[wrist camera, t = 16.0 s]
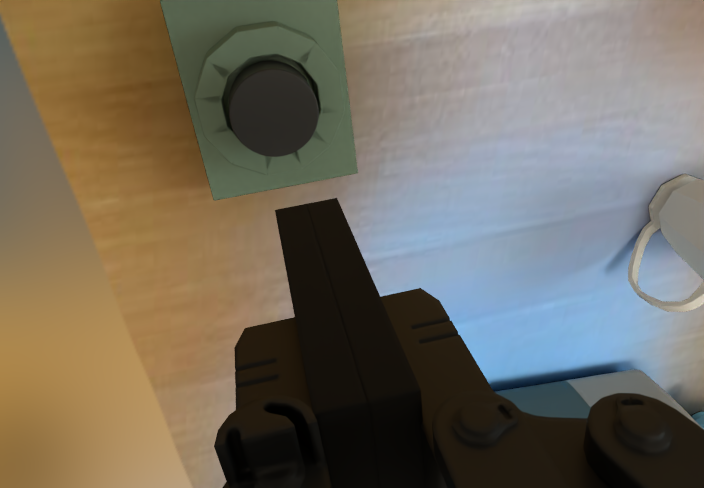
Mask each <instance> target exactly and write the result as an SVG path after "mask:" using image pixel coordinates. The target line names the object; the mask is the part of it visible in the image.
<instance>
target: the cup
mask: <svg viewBox="0 0 704 488" xmlns="http://www.w3.org/2000/svg"><path fill="white" fill-rule="evenodd" d="M648 207H649V213H650V219H651V221H650V222H649V223H648V224H647V225H646V226H645V227H644V228H643V229H642V231H641V233H640V235H639V237H638V239H637V241H636V243H635V246H634V249H633V253H632V256H631V260H630V263H629V267H628V281H629V282H630V284H631V286H632V288H633V290H634V291H635V292H636V293H637V294H638V295H639V296H640V297H641V298H642V299H644V300H645V301H647V302H648V303H649V304H651V305H653V306H655V307H658V308H660V309H663V310H665V311H667V312H687V311H690V310H692V309H695V308H697V307H699V306H700V305H702V304H703V303H704V281H703V282H702V284H701V285H700V286H699V288H698V289H697V290H696V291H695V292H694V293H693V294H692V295H691V297H690V298H688V299H686V300H683V301H681V302H662V301H660V300H657V299H655V298H653V297H650V296H648V295H647V294H645V293H644V292H642V291H641V289H640V287H639V285H638V271H639V267H640V263H641V259H642V256H643V252H644V249H645V247H646V245H647V243H648V241H649V239H650V237H651V235H652V234H653V233H654V232H656V231H657V230H658V229H661V231H662V235H663V236H664V237H665V238H666V240H667V241H668V242H669V244H670V245H671V246H672V248H673V249H674V250H675V252H676V253H677V254H678V255H679V256H680V257H681V258H682V259H683V260H684V261H685V262H686V263H687V264H688V265H689V266H690V267H691V268H692V269H693V270H694V271H695V272H696V273H697V274H698V275H699V276H700V277H701V278H702V279H703V280H704V180H701V179H698V178H695V177H692V176H689V175H686V174H683V175H681V176H679V177H677V178H675V179H673V180H671V181H669V182H667V183H665V184H663V185H661V187H660V189H659V190H658V192H657V193H656V195H655V197H654V198H653V200H652V201H651V203H650V205H649V206H648Z"/></svg>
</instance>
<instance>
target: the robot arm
mask: <svg viewBox="0 0 704 488" xmlns="http://www.w3.org/2000/svg"><path fill="white" fill-rule="evenodd" d="M275 212H276V218H277V223H278V229H279V234H280V239H281V245H282V250H283V255H284V261H285V266H286V271H287V277H288V282H289V287H290V293H291V298H292V303H293V309H294V314H295V317H294V318H290V319H285V320H280V321H276V322H271V323H267V324H262V325H257V326H253V327H248V328H245V329H244V331H243V333H242V335H241V337H240V339H239V340H238V342H237V344H236V346H235V369H236V372H235V383H236V411H234V412H233V413H231V414H230V415H229V416H228V417H227V419H226V420H225V422H224V423H223V424H222V426H221V427H220V428H219V430H218V433H217V437H216V441H215V445H214V447H215V450H216V453H217V456H218V458H219V461H220V464H221V467H222V470H223V472H224V475H225V478H226V481H227V482H226V484H225V485H224V486H223V488H704V429H702V428H701V427H700V426H698V425H697V424H696V423H694V422H693V421H691V420H690V419H689V418H687V417H686V416H685V415H683V414H682V413H680V412H679V411H678V410H676V409H675V408H673V407H671V406H669V405H667V404H666V403H664V402H662V401H660V400H658V399H656V398H652V397H648V396H645V395H641V394H638V393H616V394H612V395H609V396H606V397H602V398H601V399H600V400H598V401H597V402H596V403H595V404H594V405H593V406H591V408H590V412H589V415H588V418H561V417H544V416H536V415H532V414H529V413H526V412H522V411H521V410H520V409H519V408H518V407H517V406H516V405H515V404H514V403H513V402H512V401H510V400H508V399H506V398H504V397H502V396H500V395H499V394H497V393H495V392H494V391H493V389H492V388H491V387H490V385H489V383H488V382H487V380H486V378H485V377H484V375H483V373H482V372H481V370H480V368H479V366H478V365H477V363H476V361H475V360H474V358H473V356H472V355H471V353H470V351H469V350H468V348H467V346H466V345H465V343H464V341H463V340H462V338H461V336H460V335H458V331H457V330H456V328H455V326H454V325H453V323H452V321H450V319H449V316H448V315H447V313H446V311H445V310H444V308H443V306H442V305H441V303H440V301H439V300H437V299H436V298H434V297H433V296H431V295H430V294H428V293H427V292H425V291H424V290H422V289H421V288H419V289H414V290H410V291H405V292H401V293H396V294H391V295H387V296H382V297H380V295H379V293H378V291H377V289H376V286H375V284H374V282H373V280H372V277H371V275H370V273H369V270H368V268H367V266H366V264H365V261H364V259H363V257H362V254H361V252H360V250H359V248H358V245H357V243H356V241H355V238H354V236H353V234H352V232H351V229H350V227H349V225H348V222H347V220H346V218H345V216H344V213H343V211H342V209H341V206H340V204H339V202H338V200H337V198H335V199H329V200H324V201H319V202H314V203H309V204H304V205H299V206H294V207H288V208H283V209H278V210H275Z"/></svg>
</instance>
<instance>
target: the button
mask: <svg viewBox="0 0 704 488" xmlns="http://www.w3.org/2000/svg"><path fill="white" fill-rule="evenodd" d="M229 118H230V123H231V126H232V129H233V131H234V133H235V135H236V136H237V138H238V139H239V140H240V142H241V143H242V144H243V145H244V146H245V147H247V148H248V149H250V150H251V151H253V152H255V153H257V154H260V155H264V156H269V157H280V156H285V155H289V154H292V153H294V152H296V151H298V150H299V149H301V148H302V147H303V146H304V145H305V144H306V143H307V142H308V141H309V140H310V139H311V137H312V136H313V134H314V132H315V130H316V127H317V124H318V119H319V108H318V103H317V99H316V97H315V94H314V92H313V90H312V89H311V87H310V85H309V84H308V82H307V80H306V79H305V78H304V76H303V75H302V74H301V73H300V72H299V71H298V70H297V69H295V68H294V67H292V66H290V65H288V64H286V63H283V62H280V61H272V60H268V61H261V62H257V63H254V64H252V65H250V66H248V67H247V68H246V69H244V70H243V71H242V72H241V73H240V74H239V75H238V76H237V78H236V79H235V81H234V82H233V84H232V87H231V90H230V94H229Z"/></svg>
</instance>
